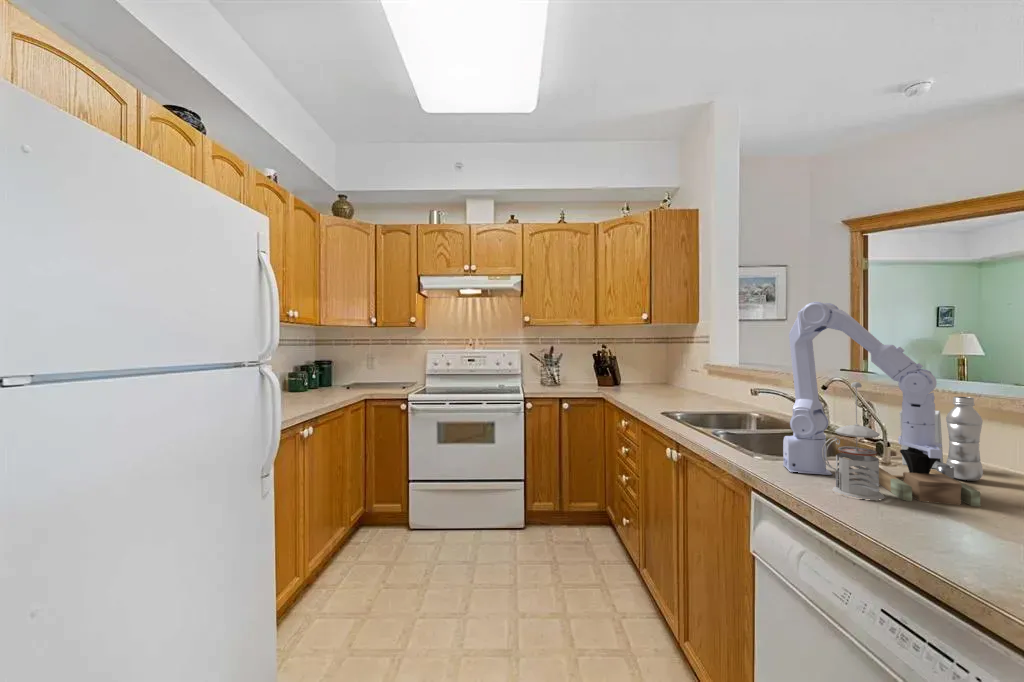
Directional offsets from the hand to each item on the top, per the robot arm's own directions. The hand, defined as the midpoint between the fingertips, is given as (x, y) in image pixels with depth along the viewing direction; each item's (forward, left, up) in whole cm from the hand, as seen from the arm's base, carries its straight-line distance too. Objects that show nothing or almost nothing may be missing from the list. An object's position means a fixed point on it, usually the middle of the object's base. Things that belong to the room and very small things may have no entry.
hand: (918, 482), depth 107 cm
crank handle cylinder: (+8, +9, -2) cm, 12 cm away
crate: (0, -5, -2) cm, 5 cm away
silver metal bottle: (+14, +13, -2) cm, 19 cm away
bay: (0, 0, -2) cm, 2 cm away
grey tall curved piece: (-15, -6, -2) cm, 16 cm away
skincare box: (+11, +26, -2) cm, 28 cm away
